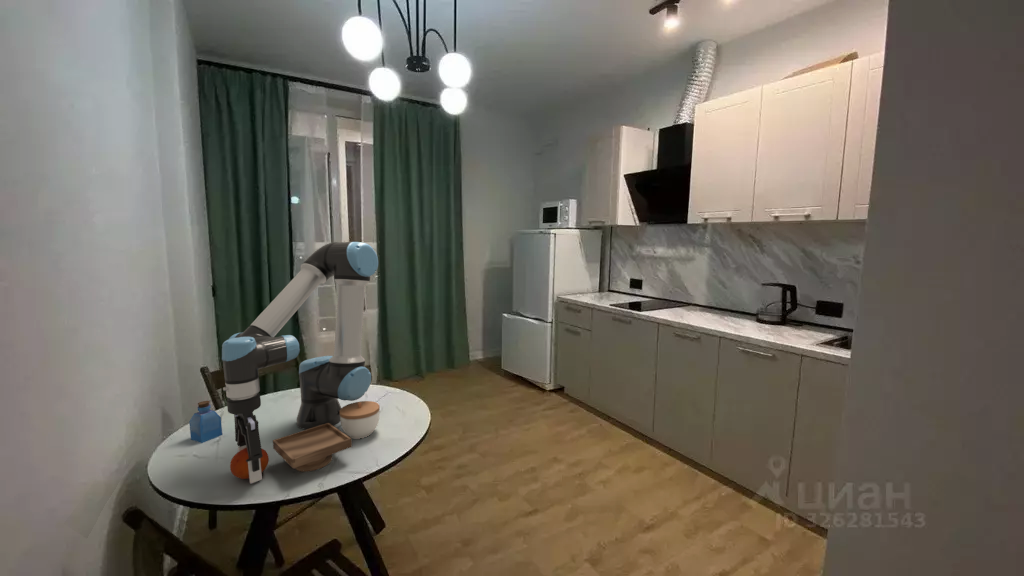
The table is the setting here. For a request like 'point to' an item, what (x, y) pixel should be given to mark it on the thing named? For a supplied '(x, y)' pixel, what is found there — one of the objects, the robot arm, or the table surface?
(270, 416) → the table surface
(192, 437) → the perfume bottle
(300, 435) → the tray
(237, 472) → the fruit
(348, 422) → the lidded bowl
